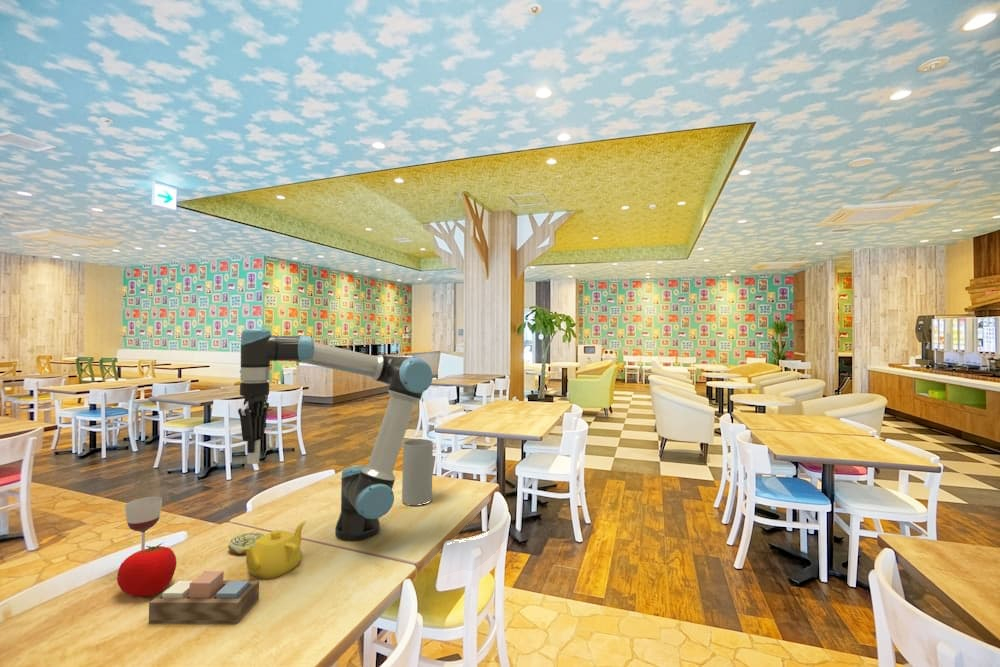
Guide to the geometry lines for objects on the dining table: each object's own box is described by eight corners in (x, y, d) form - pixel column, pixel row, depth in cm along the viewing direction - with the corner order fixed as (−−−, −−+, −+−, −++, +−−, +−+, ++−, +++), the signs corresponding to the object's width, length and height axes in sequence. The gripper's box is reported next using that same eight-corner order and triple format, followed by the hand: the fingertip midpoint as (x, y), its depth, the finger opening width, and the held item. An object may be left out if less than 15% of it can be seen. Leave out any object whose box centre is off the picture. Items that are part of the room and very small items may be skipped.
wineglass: (167, 565, 135) (168, 498, 135) (135, 579, 127) (137, 508, 127) (148, 560, 138) (150, 495, 138) (116, 574, 129) (118, 504, 130)
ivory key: (197, 600, 116) (197, 580, 116) (181, 613, 110) (182, 593, 110) (178, 600, 116) (178, 580, 116) (161, 613, 110) (162, 593, 110)
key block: (258, 599, 118) (259, 580, 118) (237, 623, 108) (237, 602, 108) (177, 599, 118) (178, 580, 118) (148, 623, 108) (149, 602, 108)
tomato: (130, 611, 112) (132, 564, 113) (109, 593, 120) (110, 550, 120) (186, 588, 123) (187, 546, 123) (163, 573, 130) (164, 534, 130)
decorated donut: (238, 560, 139) (238, 548, 139) (222, 550, 145) (222, 538, 145) (271, 547, 148) (271, 536, 148) (255, 538, 154) (255, 527, 154)
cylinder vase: (429, 506, 185) (430, 446, 186) (398, 506, 185) (400, 445, 186) (434, 496, 198) (434, 439, 198) (405, 495, 198) (406, 438, 198)
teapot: (262, 594, 121) (263, 553, 121) (225, 580, 127) (226, 542, 127) (325, 558, 141) (326, 523, 141) (290, 548, 147) (291, 515, 147)
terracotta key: (223, 590, 116) (223, 571, 116) (209, 603, 110) (209, 583, 110) (204, 590, 116) (204, 571, 116) (189, 603, 110) (189, 583, 110)
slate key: (248, 600, 116) (248, 580, 116) (235, 614, 110) (236, 593, 110) (229, 600, 116) (230, 580, 116) (215, 614, 110) (216, 593, 110)
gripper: (253, 379, 137) (251, 457, 137) (228, 383, 124) (226, 469, 124) (278, 379, 137) (276, 457, 137) (256, 384, 124) (254, 469, 124)
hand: (253, 463), depth 130 cm, fingers closed
